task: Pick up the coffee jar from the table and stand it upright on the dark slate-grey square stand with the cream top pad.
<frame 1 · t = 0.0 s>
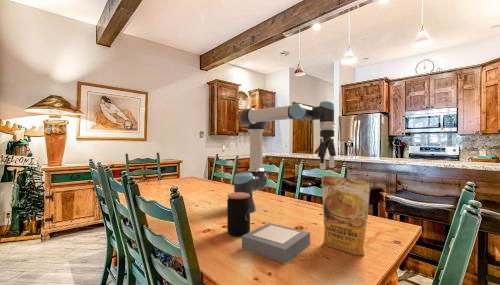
hand: (327, 168, 130), 28 cm above the table, tool pointing down, fingers open, 13 cm apart
coffee jar: (238, 233, 111), on the table
stand: (276, 246, 96), on the table
pancake mix bag: (343, 248, 94), on the table
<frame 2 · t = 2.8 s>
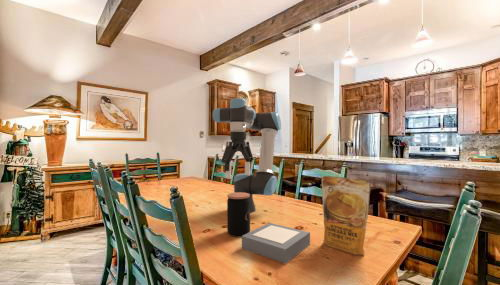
hand: (238, 176, 112), 26 cm above the table, tool pointing down, fingers open, 13 cm apart
nothing on the table moved.
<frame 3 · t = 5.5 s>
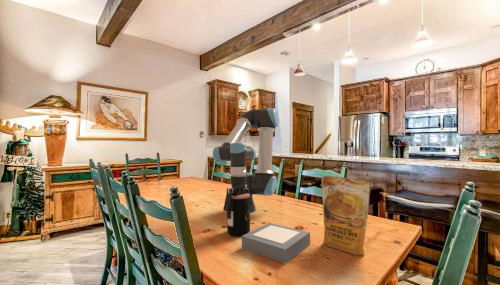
hand: (238, 222, 112), 5 cm above the table, tool pointing down, fingers closed on coffee jar, 11 cm apart
coffee jar: (238, 233, 111), on the table, touching gripper
everything else where it was.
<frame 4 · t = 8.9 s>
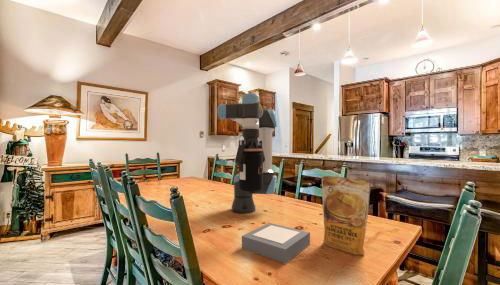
hand: (251, 178, 105), 27 cm above the table, tool pointing down, fingers closed on coffee jar, 11 cm apart
coffee jar: (251, 189, 105), point 21 cm above the table, touching gripper
everything else where it was.
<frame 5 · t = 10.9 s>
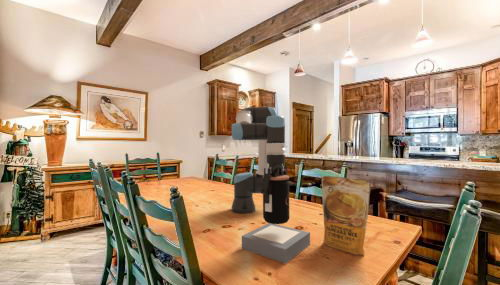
hand: (276, 208, 96), 16 cm above the table, tool pointing down, fingers closed on coffee jar, 11 cm apart
coffee jar: (276, 220, 96), point 10 cm above the table, touching gripper
everything else where it was.
when the fingers open (12 cm above the table, at t = 12.6 s): coffee jar drops 2 cm, resting on stand.
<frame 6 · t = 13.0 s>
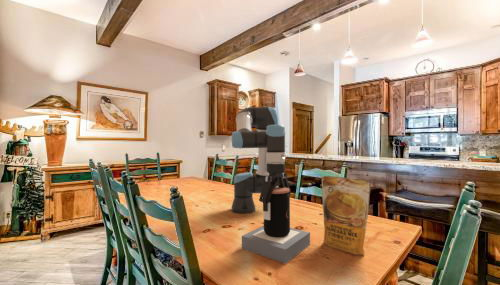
hand: (276, 215, 96), 13 cm above the table, tool pointing down, fingers open, 13 cm apart
coffee jar: (276, 233, 97), point 5 cm above the table, touching stand
everything else where it was.
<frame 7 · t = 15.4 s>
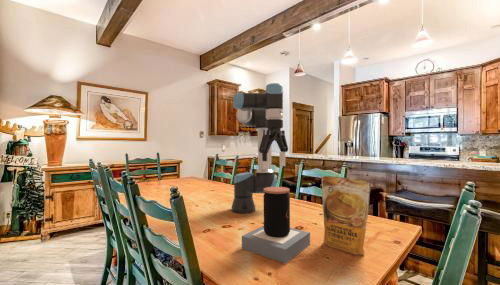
hand: (274, 167, 105), 31 cm above the table, tool pointing down, fingers open, 13 cm apart
nothing on the table moved.
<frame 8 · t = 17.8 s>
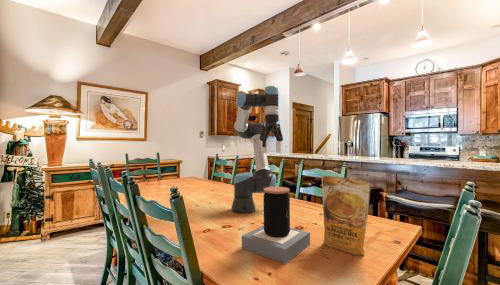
hand: (272, 153, 131), 37 cm above the table, tool pointing down, fingers open, 13 cm apart
nothing on the table moved.
at the end: coffee jar inside the target area on the stand (0.4 cm from its centre), point 5.1 cm above the stand's base; coffee jar tilted 0°; coffee jar touching stand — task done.
